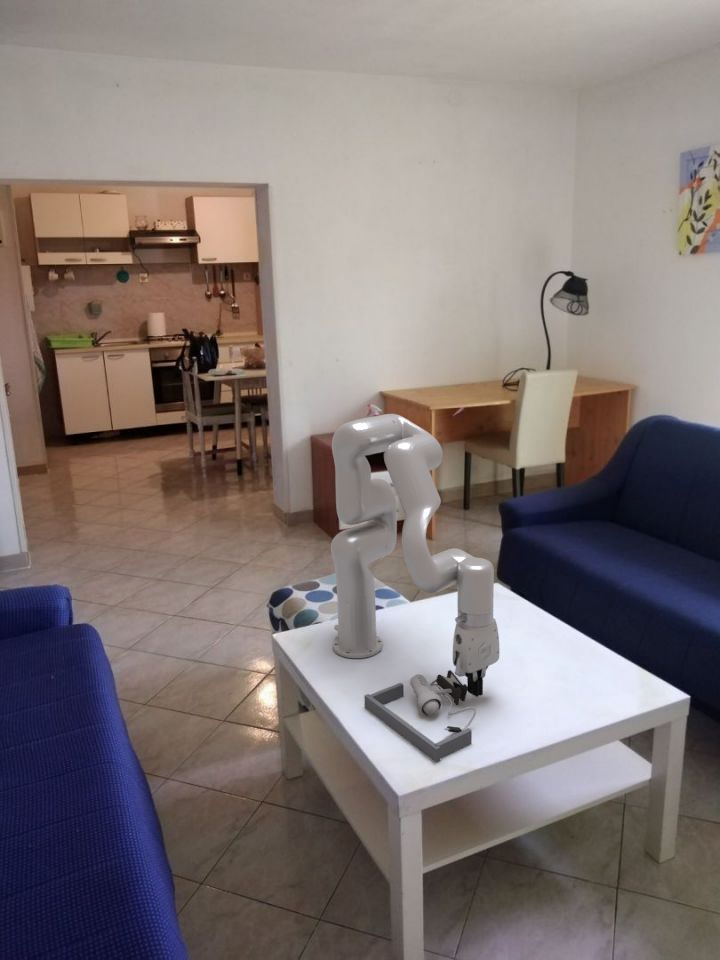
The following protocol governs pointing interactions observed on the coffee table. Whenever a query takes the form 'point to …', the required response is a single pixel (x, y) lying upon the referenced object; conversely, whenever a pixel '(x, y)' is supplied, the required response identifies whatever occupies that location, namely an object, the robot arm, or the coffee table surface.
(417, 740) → the grey u-shaped handle
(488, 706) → the coffee table surface
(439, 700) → the clip-on lamp
